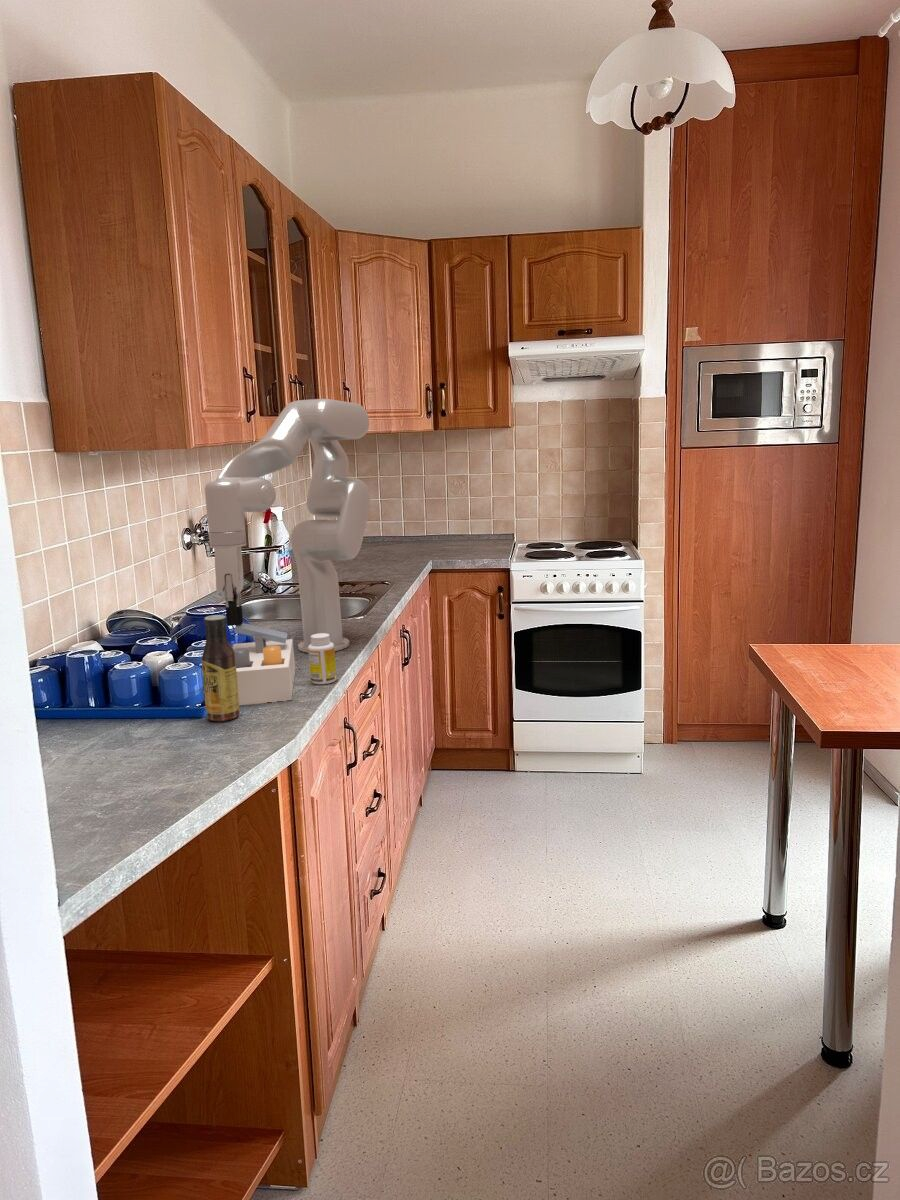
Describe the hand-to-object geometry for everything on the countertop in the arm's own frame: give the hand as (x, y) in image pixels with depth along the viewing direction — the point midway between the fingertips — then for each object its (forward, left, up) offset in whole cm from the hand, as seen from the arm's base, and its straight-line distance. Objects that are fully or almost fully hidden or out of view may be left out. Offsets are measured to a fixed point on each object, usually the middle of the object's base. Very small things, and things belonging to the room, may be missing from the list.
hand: (235, 624), depth 190 cm
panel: (+5, +5, -13) cm, 15 cm away
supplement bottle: (+5, +18, -13) cm, 23 cm away
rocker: (0, +5, -4) cm, 6 cm away
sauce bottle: (+24, -1, -13) cm, 27 cm away
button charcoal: (+12, +2, -11) cm, 16 cm away
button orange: (+12, +8, -10) cm, 18 cm away
